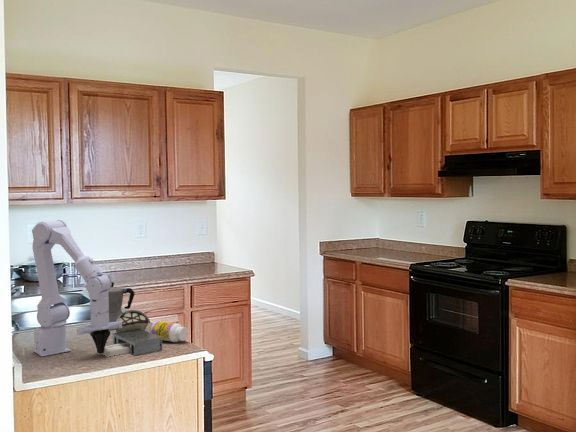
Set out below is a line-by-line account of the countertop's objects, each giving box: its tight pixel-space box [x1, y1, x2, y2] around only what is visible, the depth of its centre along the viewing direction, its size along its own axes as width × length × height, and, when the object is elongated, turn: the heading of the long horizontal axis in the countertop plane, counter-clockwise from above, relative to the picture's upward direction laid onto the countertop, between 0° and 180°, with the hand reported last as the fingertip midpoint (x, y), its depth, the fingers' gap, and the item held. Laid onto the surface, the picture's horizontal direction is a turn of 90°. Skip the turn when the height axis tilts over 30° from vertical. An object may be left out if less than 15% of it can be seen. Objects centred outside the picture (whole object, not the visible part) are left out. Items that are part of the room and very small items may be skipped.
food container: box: [115, 309, 151, 333], centre depth 207 cm, size 12×6×10 cm
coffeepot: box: [108, 281, 135, 331], centre depth 226 cm, size 15×9×18 cm, turn 90°
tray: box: [101, 342, 130, 358], centre depth 193 cm, size 12×6×2 cm, turn 132°
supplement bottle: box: [150, 320, 189, 343], centre depth 205 cm, size 7×7×13 cm
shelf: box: [112, 329, 163, 357], centre depth 197 cm, size 10×16×4 cm, turn 42°
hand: (100, 352), depth 188 cm, fingers closed
